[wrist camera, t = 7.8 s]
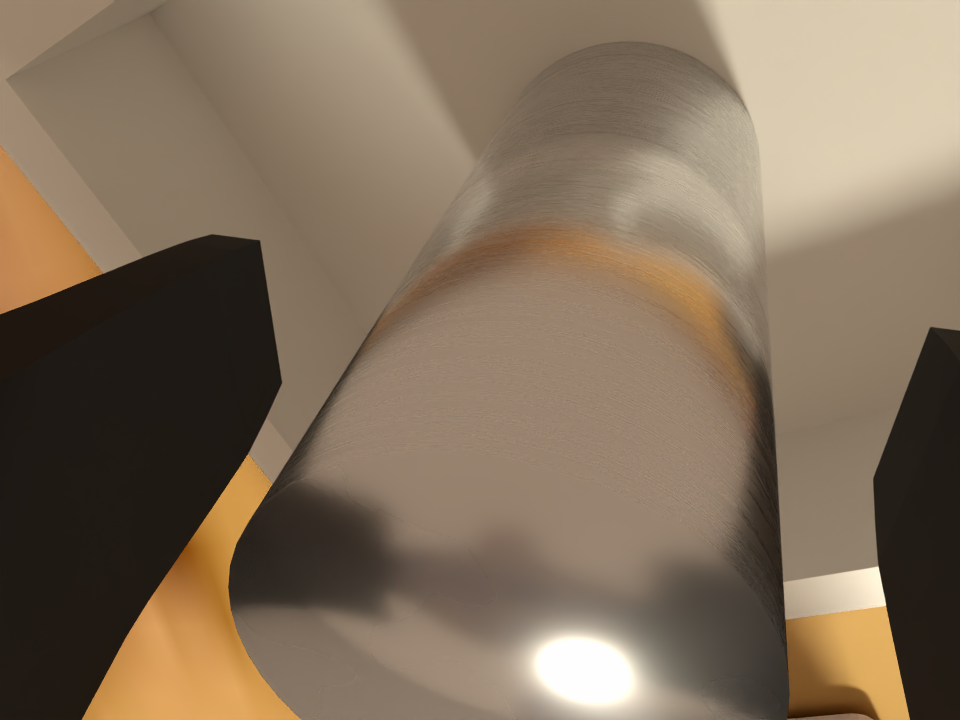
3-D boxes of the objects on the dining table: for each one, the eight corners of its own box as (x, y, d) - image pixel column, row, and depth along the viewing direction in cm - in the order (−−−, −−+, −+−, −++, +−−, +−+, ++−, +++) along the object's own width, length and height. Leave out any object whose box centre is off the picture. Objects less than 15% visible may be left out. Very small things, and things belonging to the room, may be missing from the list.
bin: (1148, 362, 14) (1274, 550, 10) (475, 519, 19) (423, 671, 16) (945, -640, 8) (1072, -871, 5) (106, -19, 14) (-77, 48, 11)
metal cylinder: (790, 57, 12) (870, 533, 5) (729, 305, 14) (720, 875, 7) (504, 27, 12) (188, 400, 5) (491, 268, 15) (260, 754, 8)
